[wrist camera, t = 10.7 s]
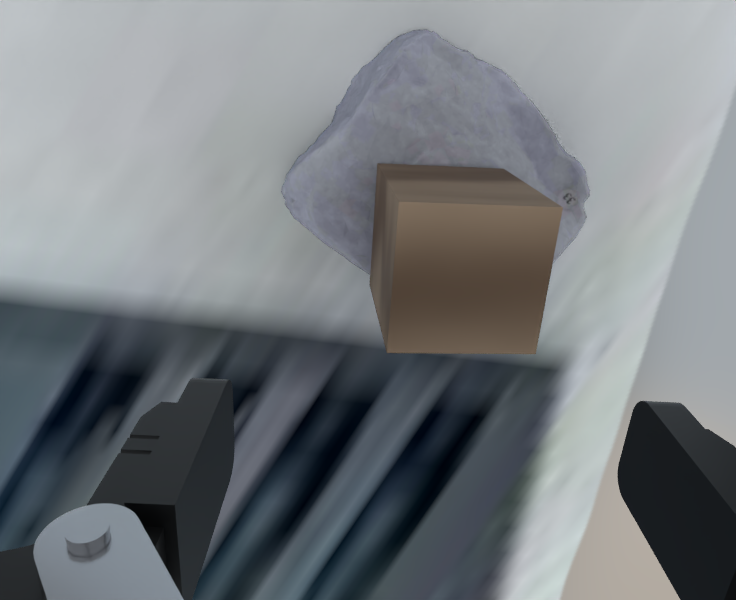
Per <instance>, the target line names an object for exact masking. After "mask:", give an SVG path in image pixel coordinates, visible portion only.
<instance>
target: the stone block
mask: <svg viewBox="0 0 736 600" xmlns="http://www.w3.org/2000/svg"><path fill="white" fill-rule="evenodd" d="M377 163H381V164H405V165H429V166H453V167H477V168H501V169H505V170H507V171H508V172H510V173H511V174H513V175H514V176H516V177H517V178H519V179H520V180H522V181H524V182H525V183H527V184H528V185H530V186H531V187H533V188H534V189H536V190H537V191H539V192H540V193H542V194H543V195H545V196H546V197H548V198H549V199H551V200H552V201H554V202H556V203H557V204H559V205H560V206H562V207H563V210H562V216H561V221H560V226H559V232H558V237H557V242H556V248H555V253H554V258H553V263H554V262H555V261H556V259H557V258H558V257H559V256H560V255H561V254H562V252H563V251H564V250H565V249H566V248H567V247H568V245H569V244H570V243H571V242H572V241H573V240H574V239H575V238H576V236H577V234H578V233H579V231H580V229H581V228H582V226H583V224H584V222H585V220H586V218H587V216H586V213H585V210H584V202H585V201H586V199H587V198H588V197H589V196H590V189H589V186H588V183H587V177H586V171H585V169H584V168H583V167H582V165H581V164H580V163H579V162H578V161H577V160H576V159H575V158H574V157H572V156H570V155H568V154H567V153H566V152H565V151H564V149H563V148H562V147H561V145H560V144H559V142H558V141H557V139H556V136H555V134H554V132H553V131H552V129H551V128H550V126H549V124H548V123H547V121H546V120H545V119H544V117H543V116H542V114H541V113H540V112H539V110H538V109H537V108H536V106H535V105H534V104H533V103H532V102H531V101H530V99H529V98H528V97H527V96H526V95H525V94H523V93H522V92H521V90H520V89H519V88H518V86H517V85H516V84H515V83H514V82H513V81H512V80H511V79H510V78H509V77H508V76H507V75H506V74H505V73H504V72H503V71H502V70H500V69H498V68H496V67H494V66H492V65H489V64H487V63H486V62H484V61H481V60H477V59H476V58H475V57H474V55H472V54H471V53H470V52H468V51H465V50H461V49H458V48H456V47H454V46H453V45H451V44H450V43H449V42H447V41H446V40H444V39H442V38H441V37H440V36H439V35H438V34H437V33H435V32H433V31H432V32H430V31H428V30H414V31H412V32H409V33H407V34H403V35H400V36H399V37H397V38H396V39H394V40H393V41H392V42H391V43H390V44H389V45H388V46H386V47H385V48H384V49H383V50H382V51H381V52H380V53H379V54H378V55H377V57H375V58H374V59H373V60H372V61H371V62H370V63H368V64H367V65H365V66H363V67H362V68H361V70H360V71H359V73H358V74H357V75H356V76H354V78H353V79H352V81H351V85H350V87H349V88H348V90H347V92H346V94H345V96H344V98H343V100H342V101H341V103H340V104H339V105H338V106H337V107H336V111H335V115H334V118H333V121H332V123H331V124H330V125H329V127H328V128H327V129H326V130H325V131H324V132H323V133H322V134H321V135H320V136H319V137H318V139H317V140H316V142H315V143H314V144H313V145H311V146H310V147H309V148H308V150H307V151H306V152H305V153H304V154H302V155H300V156H299V157H298V158H297V160H296V161H295V163H294V165H293V167H292V168H291V169H290V171H289V172H288V173H287V175H286V179H285V182H284V184H283V186H282V191H281V192H282V194H283V197H284V199H285V205H286V207H287V208H288V209H289V210H290V212H291V214H292V215H293V217H294V218H295V219H296V220H297V221H299V222H300V223H301V224H302V225H303V226H305V227H306V228H307V229H308V230H310V231H311V232H312V233H313V234H314V235H315V236H316V237H318V238H319V239H320V240H321V241H322V242H324V243H325V244H326V245H328V246H329V247H331V248H332V249H334V250H335V251H337V252H338V253H339V254H341V255H342V256H344V257H345V258H346V259H348V260H349V261H350V262H352V263H353V264H354V265H356V266H357V267H359V268H360V269H362V270H363V271H365V272H366V273H368V274H369V275H370V271H371V255H372V239H373V224H374V208H375V192H376V176H377ZM553 263H552V264H553Z"/></svg>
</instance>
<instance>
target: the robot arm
mask: <svg viewBox="0 0 736 600" xmlns="http://www.w3.org/2000/svg"><path fill="white" fill-rule="evenodd" d="M233 461H234V419H233V390H232V383H231V381H230V380H223V379H202V378H192V379H190V381H189V383H188V385H187V386H186V388H185V390H184V392H183V394H182V396H181V398H180V399H179V401H178V403H171V402H161V403H159V404H158V405H157V406H155V407H154V408H153V409H151V410H150V411H148V412H147V413H146V414H144V415H143V416H141V418H140V419H139V421H138V423H137V424H136V426H135V428H134V429H133V431H132V432H131V434H130V438H128V439H127V441H126V442H125V444H124V445H123V447H122V449H121V453H119V454H118V455H117V457H116V458H115V460H114V462H113V463H112V465H111V467H110V468H109V470H108V471H107V473H106V475H105V476H104V478H103V480H102V481H101V483H100V484H99V486H98V488H97V489H96V491H95V493H94V494H93V496H92V497H91V499H90V501H89V502H88V504H87V506H83V507H80V508H77V509H74V510H72V511H70V512H67V513H65V514H64V515H62V516H60V517H58V518H57V519H55V520H54V521H53V522H51V523H50V524H49V525H48V526H47V527H46V528H45V529H44V530H43V531H42V532H41V533H40V535H39V537H38V538H37V540H36V542H35V544H33V545H30V546H26V547H22V548H18V549H12V550H7V551H2V552H0V600H192V598H193V595H194V591H195V588H196V585H197V582H198V579H199V576H200V573H201V569H202V566H203V563H204V560H205V557H206V554H207V551H208V547H209V544H210V541H211V538H212V535H213V532H214V529H215V525H216V522H217V519H218V516H219V513H220V510H221V507H222V503H223V500H224V497H225V494H226V491H227V488H228V485H229V482H230V478H231V474H232V469H233ZM618 484H619V489H620V493H621V495H622V498H623V500H624V501H625V503H626V505H627V507H628V508H629V510H630V512H631V514H632V515H633V517H634V519H635V521H636V522H637V524H638V526H639V528H640V529H641V531H642V533H643V535H644V536H645V538H646V540H647V541H648V543H649V545H650V547H651V549H652V550H653V552H654V554H655V555H656V557H657V559H658V561H659V563H660V564H661V566H662V568H663V570H664V571H665V573H666V575H667V577H668V579H669V580H670V582H671V584H672V585H673V587H674V589H675V591H676V593H677V594H678V596H679V598H680V599H681V600H736V448H735V447H734V446H733V445H732V444H730V443H729V442H727V441H725V440H724V439H723V438H721V437H719V436H718V435H716V434H715V433H713V432H712V431H710V430H709V429H704V427H703V426H702V425H701V424H700V423H699V422H698V421H697V420H696V418H695V417H694V416H693V415H692V414H691V413H690V412H689V411H688V410H687V408H686V407H685V406H684V405H682V404H681V403H671V402H652V401H640V402H639V403H637V404H636V406H635V407H634V409H633V412H632V416H631V420H630V424H629V427H628V431H627V435H626V439H625V443H624V446H623V450H622V454H621V458H620V462H619V466H618Z"/></svg>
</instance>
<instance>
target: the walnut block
mask: <svg viewBox="0 0 736 600" xmlns="http://www.w3.org/2000/svg"><path fill="white" fill-rule="evenodd" d="M562 210H563V207H562V206H560V205H559V204H557V203H556V202H554V201H552V200H551V199H549V198H548V197H546V196H545V195H543V194H542V193H540V192H539V191H537V190H536V189H534V188H533V187H531V186H530V185H528V184H527V183H525V182H524V181H522V180H520V179H519V178H517V177H516V176H514V175H513V174H511V173H510V172H508V171H507V170H505V169H501V168H477V167H453V166H429V165H405V164H381V163H377V176H376V192H375V208H374V224H373V239H372V255H371V271H370V288H371V292H372V296H373V300H374V304H375V308H376V312H377V315H378V319H379V323H380V327H381V331H382V335H383V339H384V343H385V347H386V351H387V353H458V354H536V349H537V343H538V338H539V333H540V327H541V322H542V317H543V311H544V306H545V301H546V295H547V290H548V285H549V279H550V274H551V269H552V263H553V258H554V253H555V248H556V242H557V237H558V232H559V226H560V221H561V216H562Z"/></svg>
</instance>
